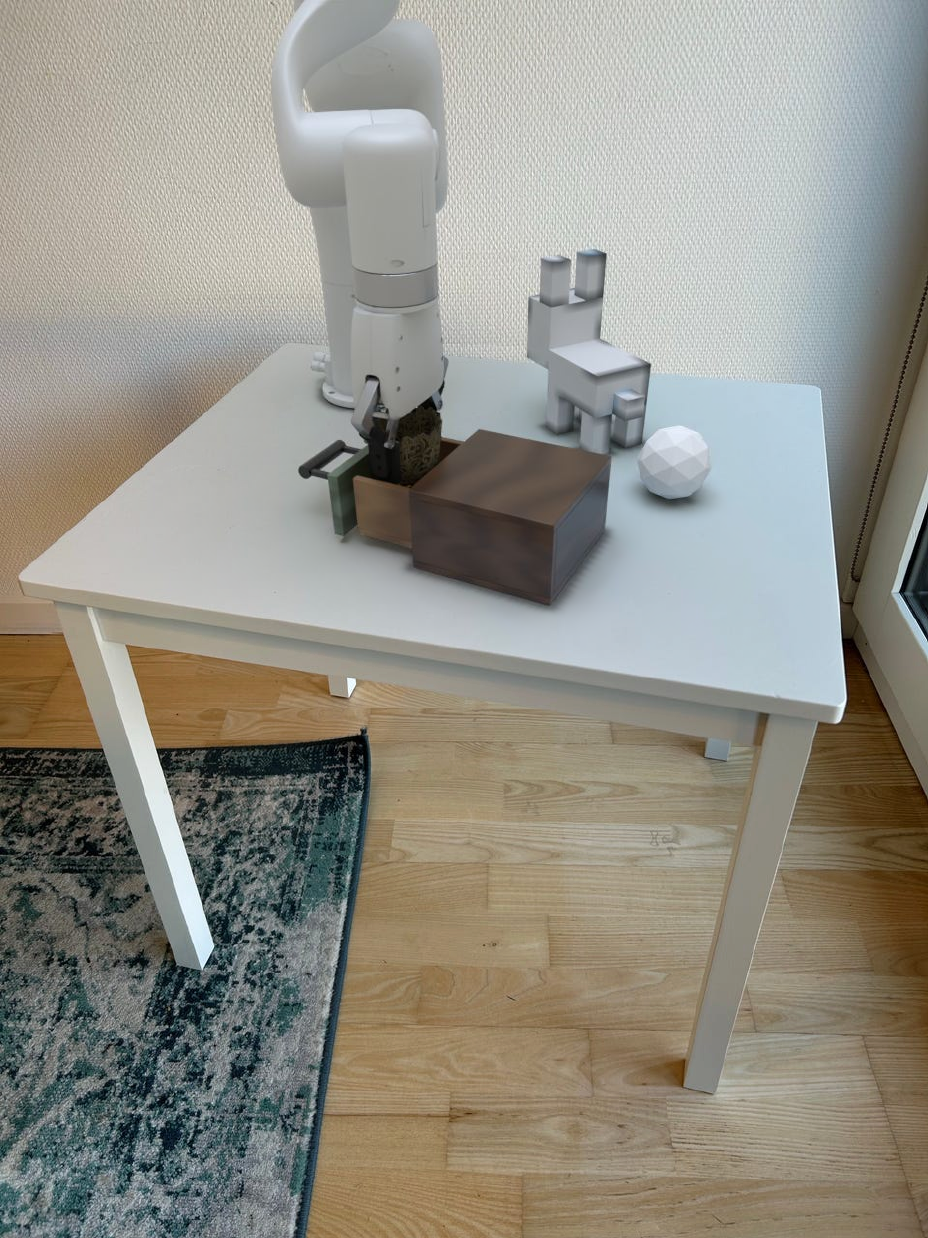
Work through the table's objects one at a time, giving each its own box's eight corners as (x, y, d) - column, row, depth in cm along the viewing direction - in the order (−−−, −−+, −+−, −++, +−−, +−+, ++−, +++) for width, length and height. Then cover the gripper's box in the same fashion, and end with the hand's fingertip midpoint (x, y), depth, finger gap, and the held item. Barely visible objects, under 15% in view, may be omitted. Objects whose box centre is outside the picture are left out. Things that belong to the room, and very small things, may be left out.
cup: (451, 476, 92) (449, 405, 87) (435, 511, 86) (432, 437, 81) (384, 470, 93) (378, 400, 88) (364, 504, 87) (357, 431, 82)
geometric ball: (647, 511, 98) (619, 447, 97) (712, 481, 97) (684, 415, 96) (663, 512, 90) (632, 442, 89) (733, 479, 90) (703, 408, 89)
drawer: (285, 520, 91) (275, 461, 86) (355, 466, 100) (349, 411, 96) (450, 566, 83) (448, 504, 79) (509, 503, 93) (510, 445, 88)
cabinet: (412, 567, 85) (407, 489, 80) (479, 500, 95) (478, 428, 90) (549, 605, 79) (554, 525, 74) (604, 531, 89) (612, 455, 84)
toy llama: (604, 465, 101) (619, 290, 89) (525, 412, 113) (529, 252, 101) (654, 451, 104) (676, 279, 92) (572, 401, 116) (582, 244, 104)
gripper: (409, 254, 84) (418, 422, 95) (304, 307, 72) (328, 492, 83) (477, 263, 81) (478, 435, 92) (380, 320, 69) (394, 510, 80)
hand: (407, 461), depth 88 cm, fingers closed on cup, 7 cm apart
